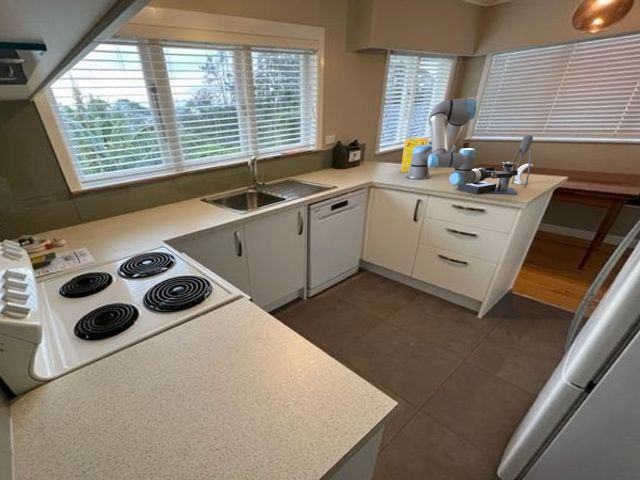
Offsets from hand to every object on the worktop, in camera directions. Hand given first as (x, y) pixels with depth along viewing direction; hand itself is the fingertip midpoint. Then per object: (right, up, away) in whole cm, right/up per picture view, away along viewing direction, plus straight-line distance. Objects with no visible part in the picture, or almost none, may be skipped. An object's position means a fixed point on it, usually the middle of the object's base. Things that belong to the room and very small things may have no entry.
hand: (504, 170), depth 174 cm
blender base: (-9, -9, +11) cm, 17 cm away
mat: (+3, -11, +6) cm, 12 cm away
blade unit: (+3, -10, +5) cm, 12 cm away
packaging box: (-13, +23, +78) cm, 82 cm away
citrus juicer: (+15, -6, +14) cm, 21 cm away
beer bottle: (+3, +7, +43) cm, 44 cm away
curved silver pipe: (+24, -3, +17) cm, 30 cm away
